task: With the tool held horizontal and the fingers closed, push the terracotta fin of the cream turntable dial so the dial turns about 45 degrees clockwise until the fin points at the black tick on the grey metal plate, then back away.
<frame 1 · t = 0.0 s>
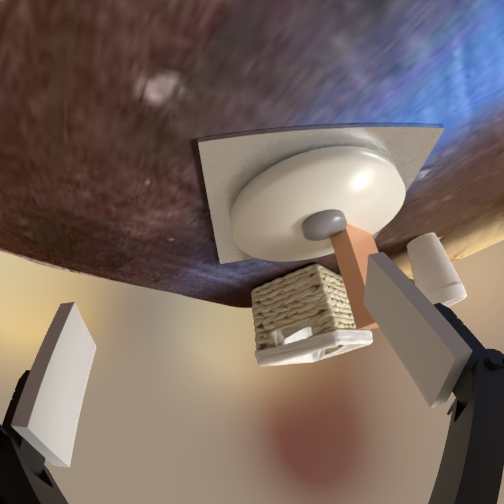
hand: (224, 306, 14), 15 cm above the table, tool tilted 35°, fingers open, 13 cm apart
storage basket: (306, 284, 65), on the table
dial: (336, 262, 33), point 8 cm above the table, hinge at 0.0°
foam cup: (421, 240, 55), on the table
base plate: (316, 201, 36), on the table
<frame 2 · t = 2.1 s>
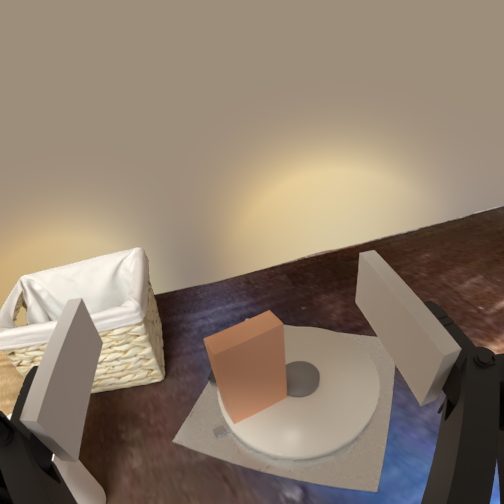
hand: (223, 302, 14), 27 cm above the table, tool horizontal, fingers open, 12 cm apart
storage basket: (102, 361, 46), on the table
dial: (298, 354, 35), point 8 cm above the table, hinge at 0.0°
foam cup: (84, 499, 25), on the table
base plate: (299, 393, 38), on the table
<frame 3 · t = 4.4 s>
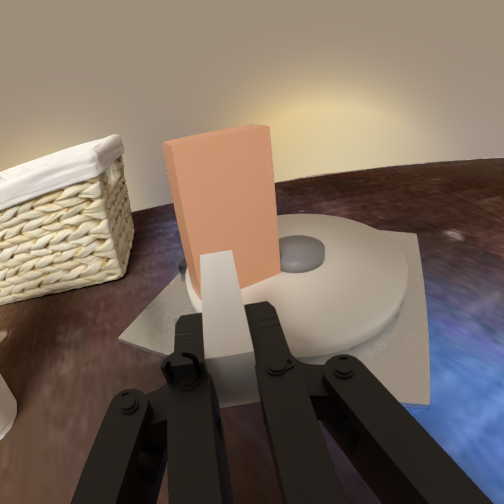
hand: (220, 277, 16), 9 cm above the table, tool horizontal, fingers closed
storage basket: (60, 270, 38), on the table
dial: (294, 205, 27), point 8 cm above the table, hinge at 0.0°
base plate: (297, 283, 30), on the table
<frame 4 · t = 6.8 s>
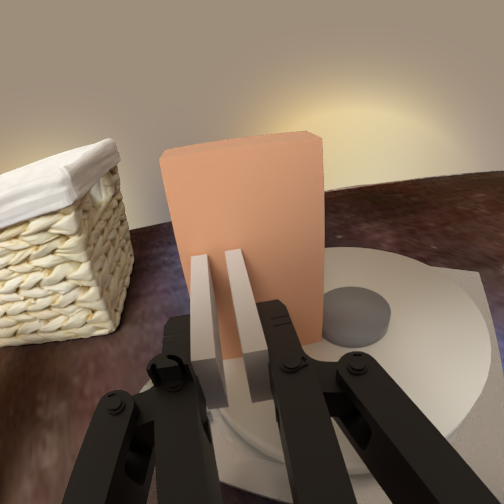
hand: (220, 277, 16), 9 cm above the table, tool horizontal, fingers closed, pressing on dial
storage basket: (44, 306, 30), on the table
dial: (358, 255, 18), point 8 cm above the table, hinge at 18.9°, touching gripper
base plate: (348, 349, 22), on the table
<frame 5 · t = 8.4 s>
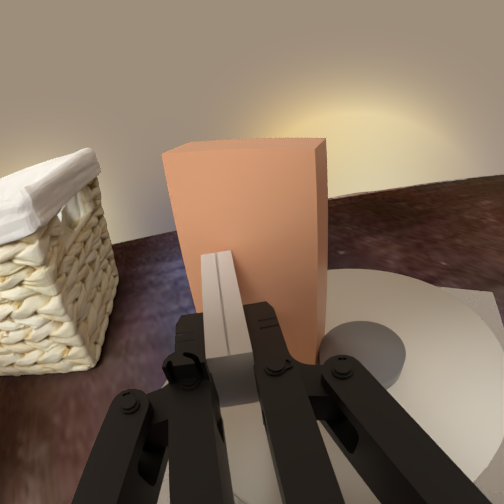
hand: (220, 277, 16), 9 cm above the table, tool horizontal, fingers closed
storage basket: (24, 331, 27), on the table
dial: (372, 293, 15), point 8 cm above the table, hinge at 50.3°, touching gripper
base plate: (355, 389, 19), on the table
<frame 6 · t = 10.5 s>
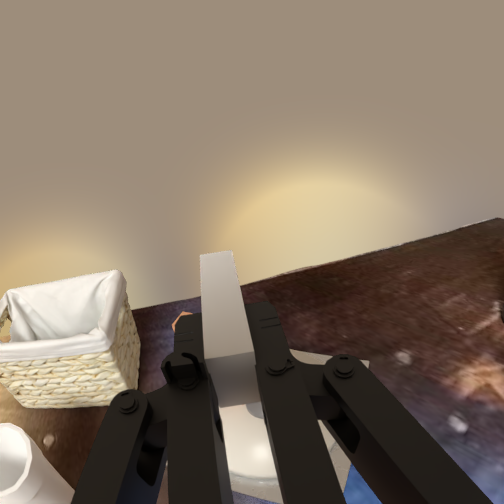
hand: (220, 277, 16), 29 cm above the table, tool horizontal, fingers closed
storage basket: (81, 377, 46), on the table
dial: (263, 378, 35), point 8 cm above the table, hinge at 50.3°
base plate: (267, 414, 39), on the table
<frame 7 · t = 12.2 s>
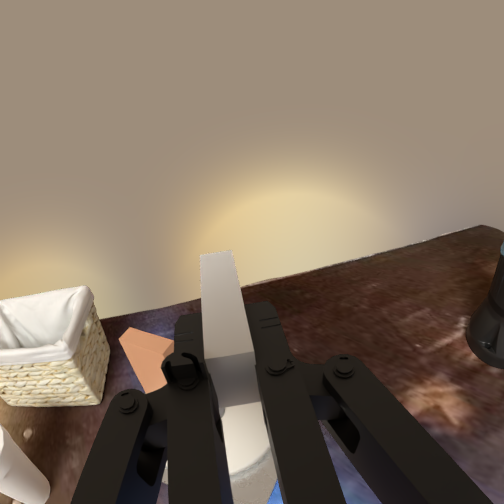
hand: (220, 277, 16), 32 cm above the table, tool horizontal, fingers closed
storage basket: (58, 379, 49), on the table
dial: (199, 389, 38), point 8 cm above the table, hinge at 50.3°
foam cup: (35, 489, 28), on the table
base plate: (210, 420, 42), on the table
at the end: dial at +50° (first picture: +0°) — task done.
